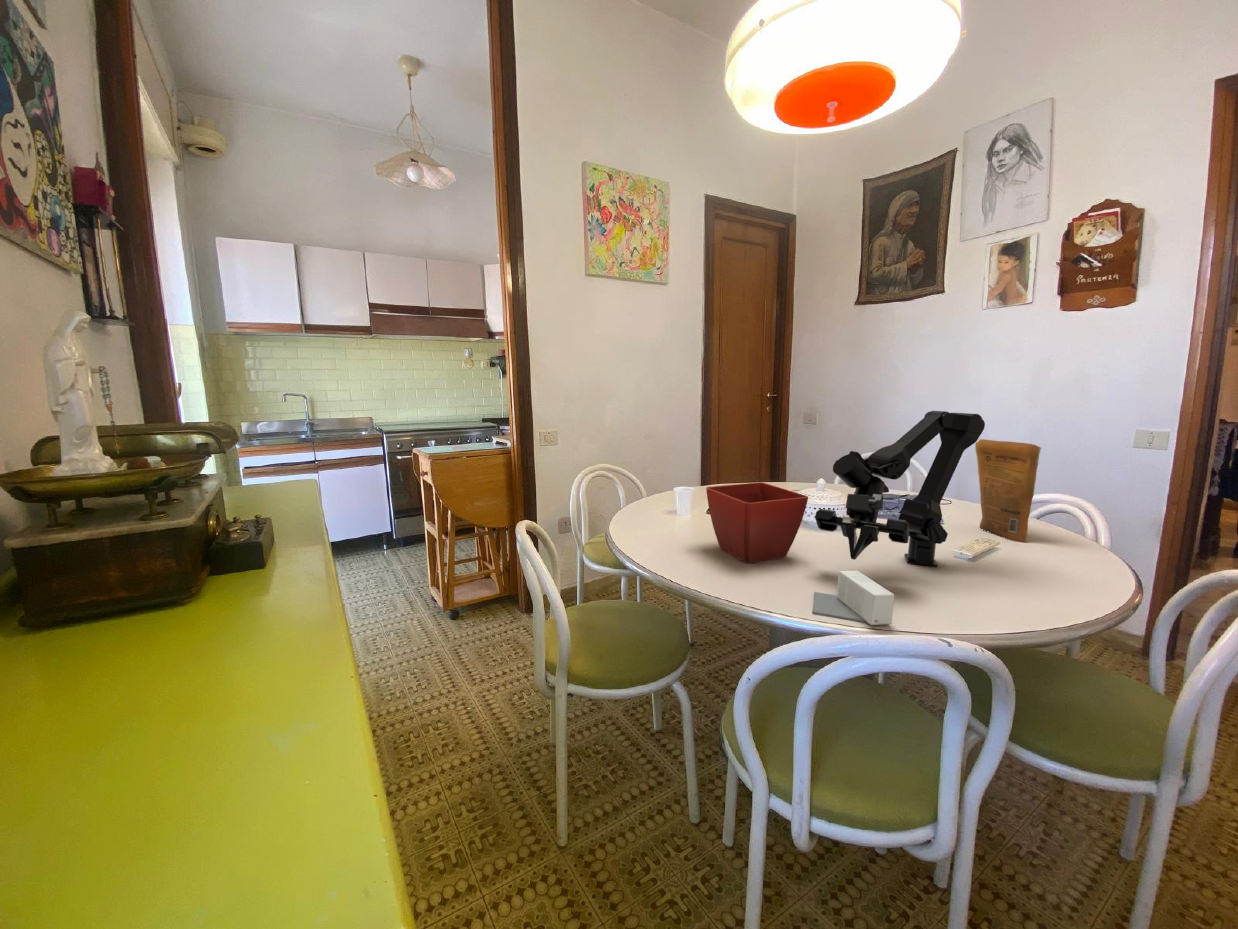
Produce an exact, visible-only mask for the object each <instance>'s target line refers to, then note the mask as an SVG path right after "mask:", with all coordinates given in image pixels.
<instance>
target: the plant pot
mask: <svg viewBox="0 0 1238 929" xmlns="http://www.w3.org/2000/svg"><path fill="white" fill-rule="evenodd" d="M705 490H706V497H707V505H708V510H709V515H710V519H711V524H712V528H713V531H714V534H715V537H716V540H717V544H718V546H719V548H720V549H722V550H723V551H725V552H726V553H728V554H730V555H732V556H733V557H735V558H737V559H739V560H740V561H742V562H744V563H755V562H762V561H770V560H776V559H782V558H785V557H787V555H788V553H789V551H790V549H791V547H792V545H793V543H794V541H795V539H796V537H797V534H798V532H799V529H800V528H801V527H800V526H801V524H802V521H803V518H804V516H805V512H806V508H807V505H808V500H809V496H808V495H804V494H802V493H798V492H795V491H792V490H789V489H786V488H781V487H779V486H776V485H773V484H769V483H765V482H748V483H737V484H727V485H726V484H725V485H715V486H714V485H713V486H707V487H706V488H705Z"/></svg>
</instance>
